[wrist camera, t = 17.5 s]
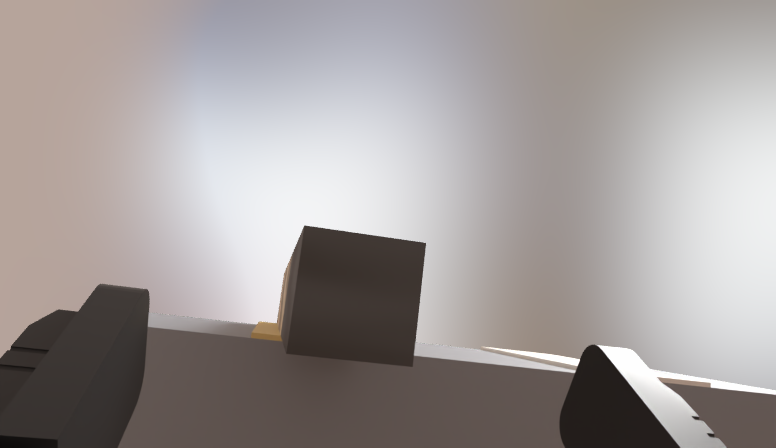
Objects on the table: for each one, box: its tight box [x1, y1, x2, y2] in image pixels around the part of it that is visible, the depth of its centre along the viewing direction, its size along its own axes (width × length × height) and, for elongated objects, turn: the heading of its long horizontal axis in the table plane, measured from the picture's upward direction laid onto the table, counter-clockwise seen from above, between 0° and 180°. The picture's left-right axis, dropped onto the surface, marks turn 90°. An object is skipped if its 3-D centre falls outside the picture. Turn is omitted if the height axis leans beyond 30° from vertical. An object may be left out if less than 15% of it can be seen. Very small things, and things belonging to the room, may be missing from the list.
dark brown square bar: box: [277, 226, 426, 367], centre depth 24 cm, size 22×3×3 cm, turn 11°
